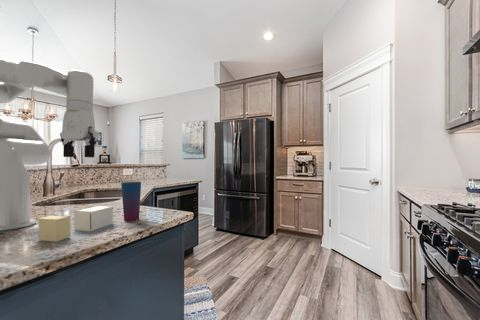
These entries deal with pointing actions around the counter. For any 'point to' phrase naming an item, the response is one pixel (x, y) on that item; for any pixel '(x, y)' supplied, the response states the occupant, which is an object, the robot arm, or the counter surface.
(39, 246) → the counter surface
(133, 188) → the cup
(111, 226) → the board
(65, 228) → the stub
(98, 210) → the white rectangular box
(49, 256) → the counter surface
